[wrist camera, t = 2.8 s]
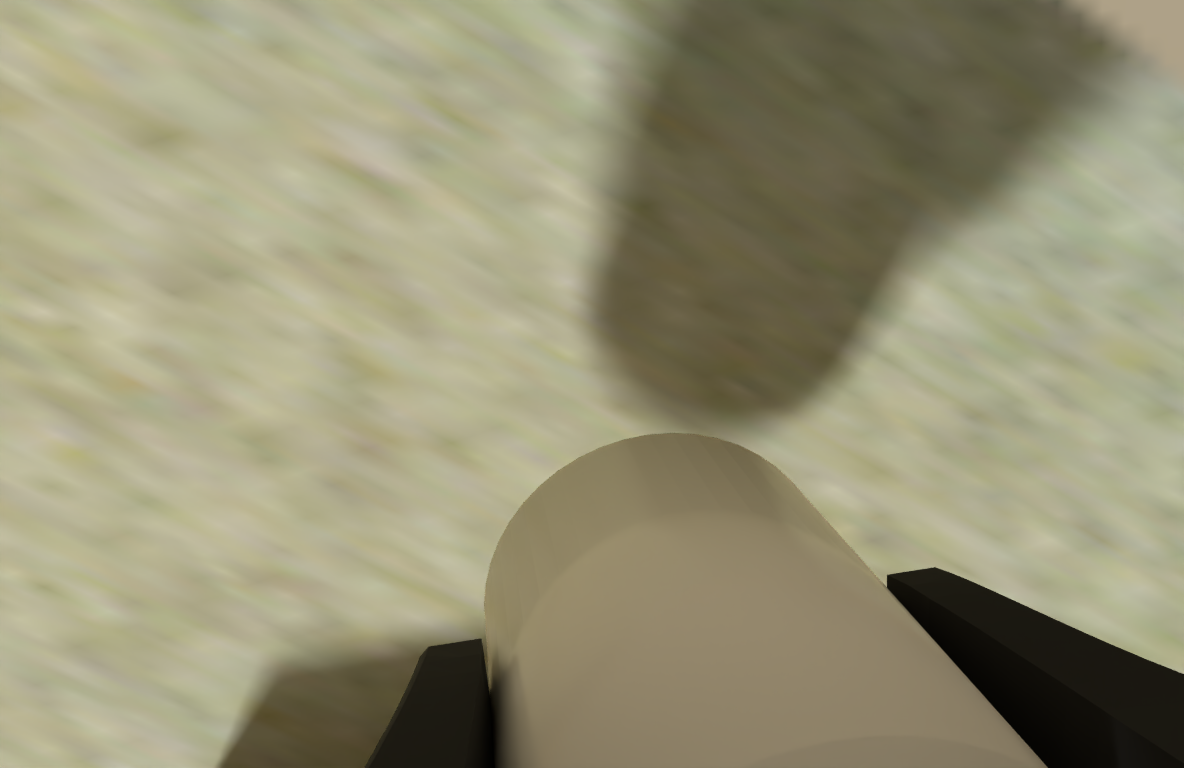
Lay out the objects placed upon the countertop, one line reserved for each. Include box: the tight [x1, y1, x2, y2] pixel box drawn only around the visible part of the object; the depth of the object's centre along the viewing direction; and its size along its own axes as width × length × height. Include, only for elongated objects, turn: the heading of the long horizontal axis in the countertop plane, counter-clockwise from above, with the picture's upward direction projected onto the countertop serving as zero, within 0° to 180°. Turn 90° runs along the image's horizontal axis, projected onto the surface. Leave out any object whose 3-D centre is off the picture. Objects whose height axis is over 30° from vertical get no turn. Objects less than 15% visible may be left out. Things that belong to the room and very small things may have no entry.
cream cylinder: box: [484, 433, 1048, 768], centre depth 10 cm, size 5×5×6 cm
